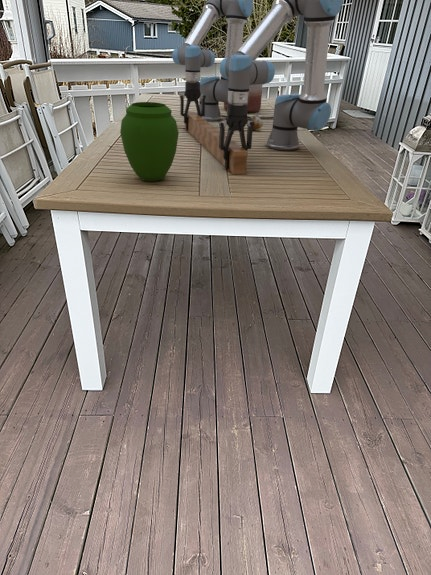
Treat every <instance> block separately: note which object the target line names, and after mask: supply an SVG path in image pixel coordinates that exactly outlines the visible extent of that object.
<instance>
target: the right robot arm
mask: <svg viewBox="0 0 431 575" xmlns="http://www.w3.org/2000/svg"><path fill="white" fill-rule="evenodd" d="M343 4H344V0H274V1H273V2H272V4H271V8H270V10H269V11H268V12H267V13H266V15H265V16H264V17H263V18H262V19H261V21H259V23H258V24H257V26H256V27H255V28H254V29H253V30H252V32H251V33H250V34H249V35H248V37H247V38H246V39H245V40H244V41H243V42H242V45H241V47H240V48H239V49H238V50H237V51H236V53H235V54H234V55H232V56H231V58H230V57H228V58H225V57H224V58H223V59H222V60H221V61H220V64H219V74H220V77H221V76H222V77H223V78H225V79H228V80H229V86H228V102H229V104H228V105H227V110H226V116H227V118H226V117H225V120H222V121H221V120H219V122H218V126H219V131H220V134H219V148H220V149H221V150H223V159H224V160H225V166H224V168H225V169H226V170H228V169H229V155H230V152H229V151H228V148H229V145H230V142H231V140H232V138H233V135H234V133H235V132H236V131H238V133H239V140H240V146H241V147H242V148H244V149H245V150H246V151H247V152H248V150H251V149H252V147H253V146H252V145H253V131H254V130H253V126H254V122H252V121H249V120H248V119H249V118H247V116H248V113H247V112H248V105H247V103H248V98H249V86H250V85H254V84H263V85H266V84H270V83H271V82H272V81H273V80H274V78H275V74H276V69H275V66H274V63H272V62H271V61H269V60H268V61H267V60H257V59H258V58H259V57H260V55H261V54H262V52H263V51H264V50H265V49H266V48H267V47H268V46H269V44H270V43H271V41H272V40H273V39H274V38H275V37H276V36H277V34H278V33H279V32H280V31H281V29H282V28H283V27H284V26H285V24H289V23H291V21H292V20H293V19H294V18H296V17H299V16H303V22H304V24H305V25H306V27H307V30H306V41H305V42H306V43H305V44H306V46H305V60H304V72H303V87H302V88H303V89H302V93H301V94H299V93H297V94H296V93H294V94H279V95H278V96H276V98H275V102H274V108H273V117H274V118H272V127H271V128H272V129H271V131H270V134H269V136H268V138H267V141H266V147H267V148H268V149H272V150H277V151H286V152H287V151H297V150H298V149H299V146H300V140H299V135H298V128H301V129H305V130H309V131H316V132H318V131H321V130H322V129H324V128H325V126H327V124H328V122H329V121H330V118H331V115H332V106H331V104H330V103H329V102H327V101H328V96H327V94H326V93H325V83H326V71H327V63H328V62H327V61H328V51H329V50H328V49H329V40H330V30H331V25H332V24H333V23H334V22H335V20H336V19H335V18H336V16H338V14H339V13H340V12H341V10H342V8H343ZM226 125H227V127H228V129H227V133H226V132H225V131H226ZM246 126H248V127H246ZM245 127H246V128H247V129H246V135H245ZM224 134H225V135H226V136H227V137H226V140H225V143H224Z"/></svg>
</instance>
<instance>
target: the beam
mask: <svg viewBox="0 0 431 575" xmlns="http://www.w3.org/2000/svg"><path fill="white" fill-rule="evenodd" d="M187 117H188V131H187V132H188V133H189V134H190V135H191V136H192V137H193V138H194V139H195V140H196V141H197V142H198V143H199V144H201V145H202V146H203V147H204V148H205V149H206V150H207V151H208V152H209V153H210V154H211V155H212V156H213V157H214V158H215V159H216V160H217V161H218V162H220V163H221V164H222V166H224V167H225V160H224V159H223V150H221V149H220V148H219V134H220V129H218V128H216V127H215V126H214V125H213V124H211V123H210V122H209V121H206V120H204V119H203V118H202V117H200V116H199V115H198V114H197V112H195V111H188V114H187ZM184 129H185V130H186V124H185V123H184ZM226 137H227V134H226V133H225V134H224V143H225V140H226ZM228 151H229V152H230V155H229V169H227V170H228V171H229V172H230V173H231V174H232V175H245V174H246V173H247V162H248V150H247V151H246V150H245V149H244V148H242V146H241V144H238V143H237V142H236V141H234V140H233V139H231V142H230V145H229V148H228Z"/></svg>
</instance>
